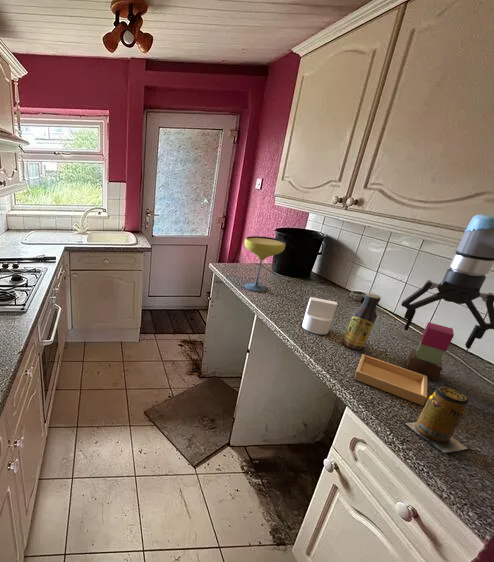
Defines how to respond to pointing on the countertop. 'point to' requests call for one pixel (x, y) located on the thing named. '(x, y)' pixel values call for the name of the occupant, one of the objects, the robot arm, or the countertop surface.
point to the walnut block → (423, 366)
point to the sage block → (429, 354)
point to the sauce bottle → (362, 322)
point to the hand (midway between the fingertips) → (435, 337)
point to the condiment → (441, 419)
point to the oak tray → (392, 379)
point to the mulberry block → (437, 336)
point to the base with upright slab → (319, 315)
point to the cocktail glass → (262, 254)
